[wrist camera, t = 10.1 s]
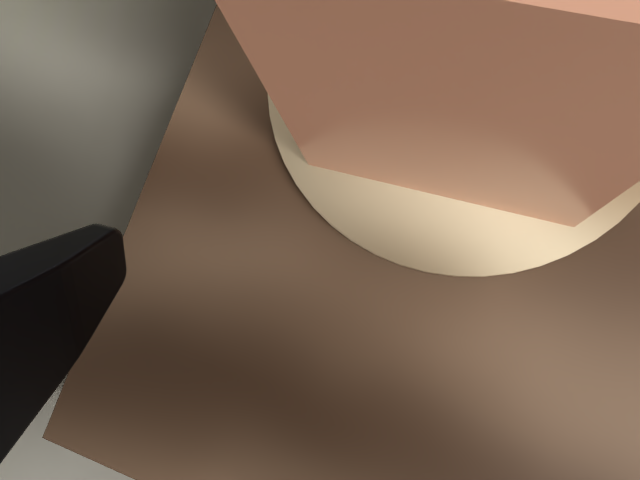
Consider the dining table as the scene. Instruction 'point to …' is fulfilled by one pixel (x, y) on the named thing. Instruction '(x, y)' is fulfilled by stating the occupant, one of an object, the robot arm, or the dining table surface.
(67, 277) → the robot arm
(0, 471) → the dining table surface
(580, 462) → the walnut board
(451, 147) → the peach colored cube
